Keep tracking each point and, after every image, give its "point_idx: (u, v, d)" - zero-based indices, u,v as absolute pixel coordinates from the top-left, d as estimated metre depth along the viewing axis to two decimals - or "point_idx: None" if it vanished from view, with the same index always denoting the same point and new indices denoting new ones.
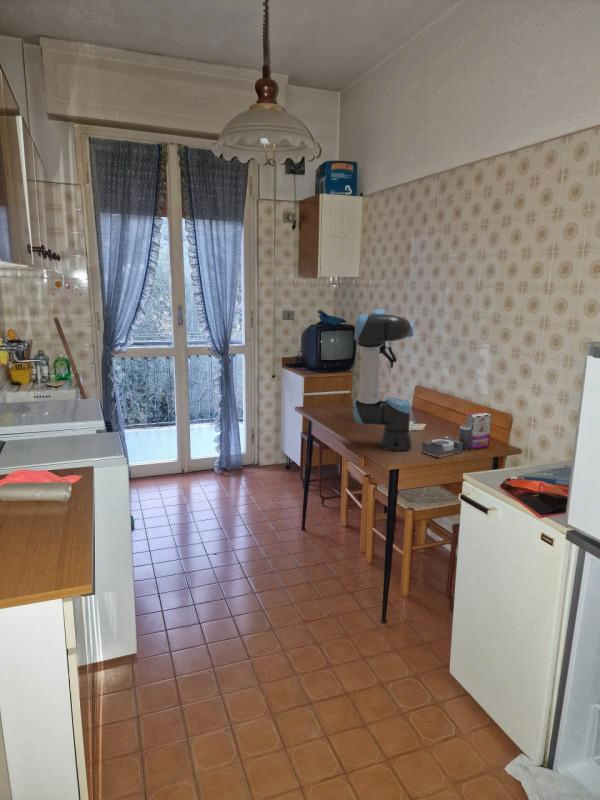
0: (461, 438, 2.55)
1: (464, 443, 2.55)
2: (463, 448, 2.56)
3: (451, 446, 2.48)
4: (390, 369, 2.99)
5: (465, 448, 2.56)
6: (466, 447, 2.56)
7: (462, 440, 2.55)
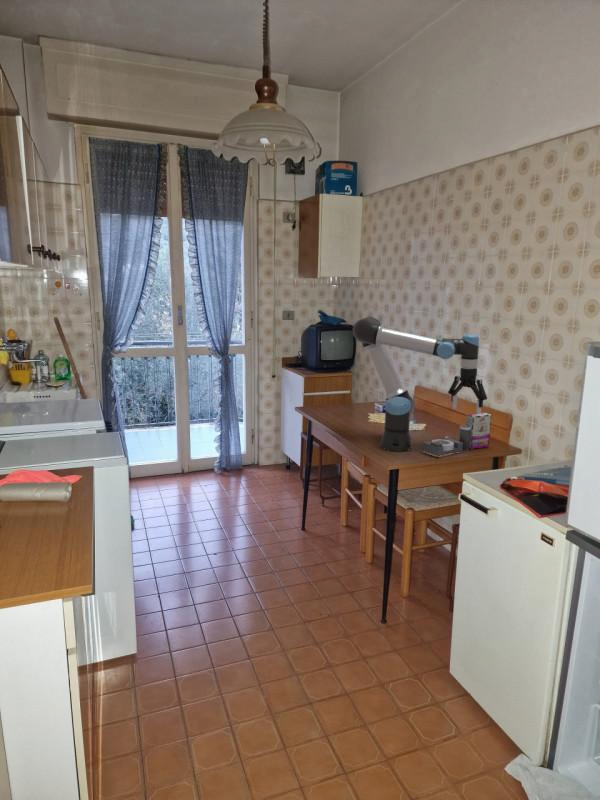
0: (461, 438, 2.55)
1: (464, 443, 2.55)
2: (463, 448, 2.56)
3: (451, 446, 2.48)
4: (477, 409, 2.52)
5: (465, 448, 2.56)
6: (466, 447, 2.56)
7: (462, 440, 2.55)
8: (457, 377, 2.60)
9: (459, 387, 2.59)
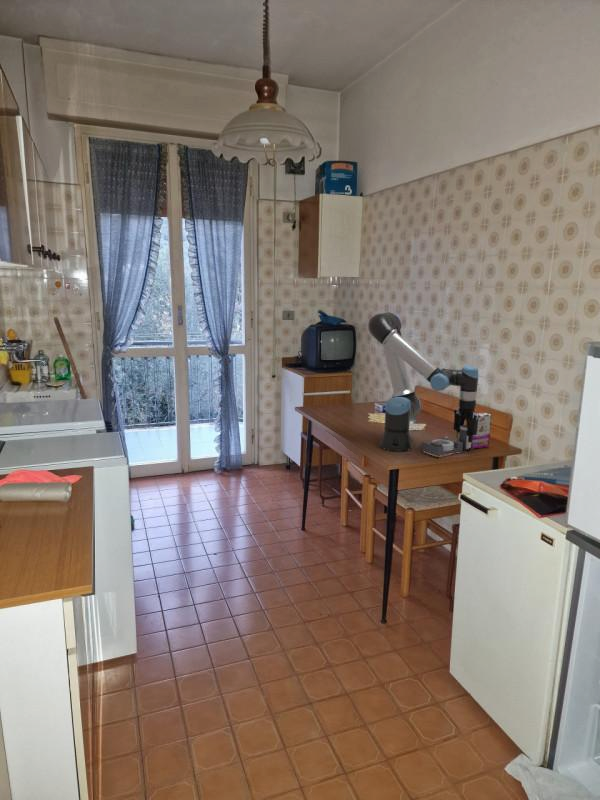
0: (461, 438, 2.55)
1: (464, 443, 2.55)
2: (463, 448, 2.56)
3: (451, 446, 2.48)
4: (466, 443, 2.54)
5: None
6: None
7: (462, 440, 2.55)
8: (456, 410, 2.58)
9: (461, 420, 2.56)
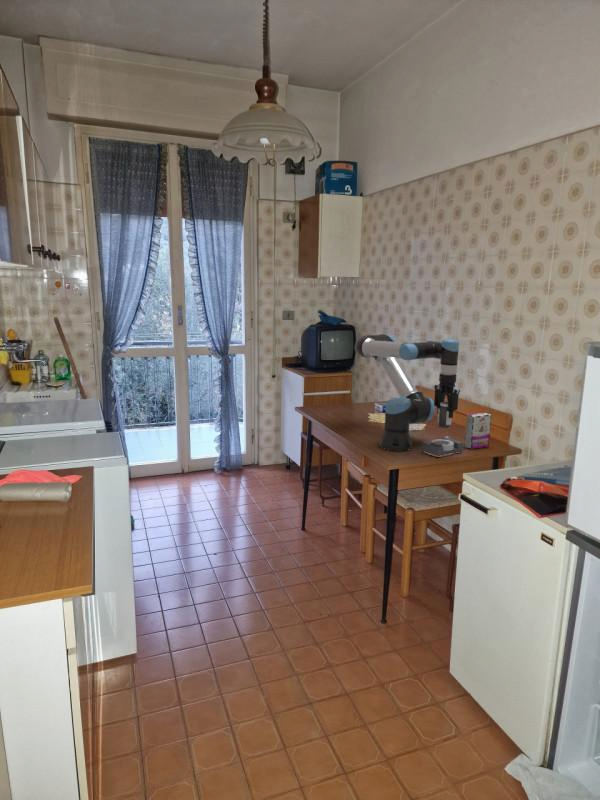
0: (442, 415, 2.47)
1: (444, 420, 2.47)
2: (443, 425, 2.47)
3: (451, 446, 2.48)
4: (447, 419, 2.46)
5: (445, 425, 2.47)
6: None
7: (442, 417, 2.47)
8: (437, 385, 2.50)
9: (441, 396, 2.47)
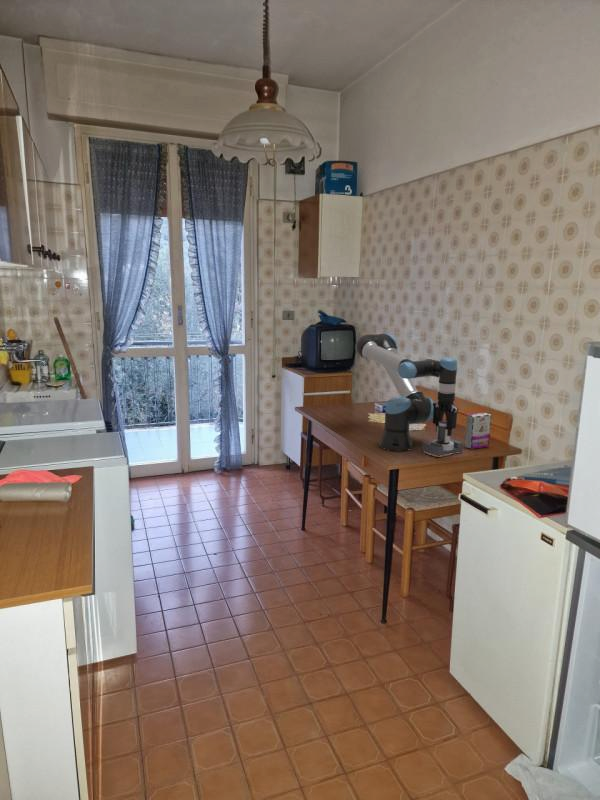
0: (440, 435, 2.49)
1: (443, 439, 2.49)
2: None
3: (451, 446, 2.48)
4: (445, 437, 2.48)
5: None
6: None
7: (441, 436, 2.49)
8: (435, 403, 2.52)
9: (440, 414, 2.49)
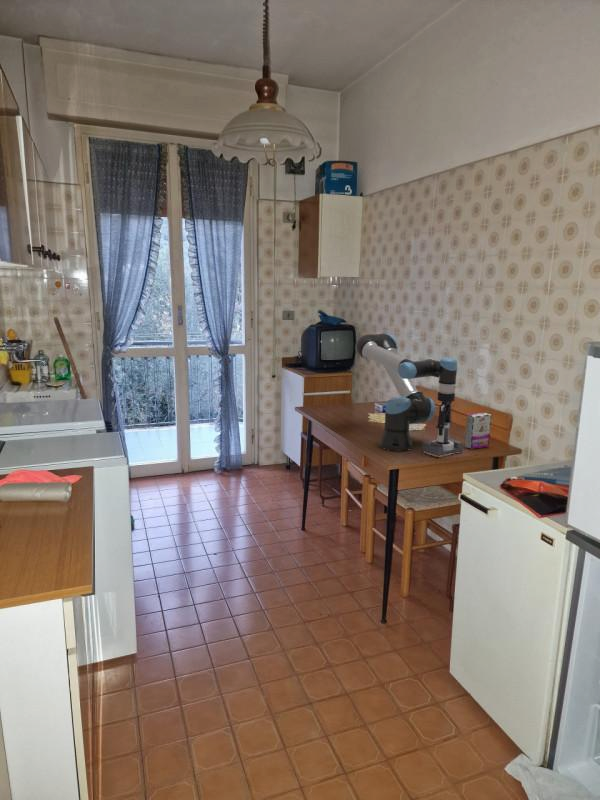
0: None
1: None
2: None
3: (451, 446, 2.48)
4: None
5: None
6: None
7: None
8: None
9: None
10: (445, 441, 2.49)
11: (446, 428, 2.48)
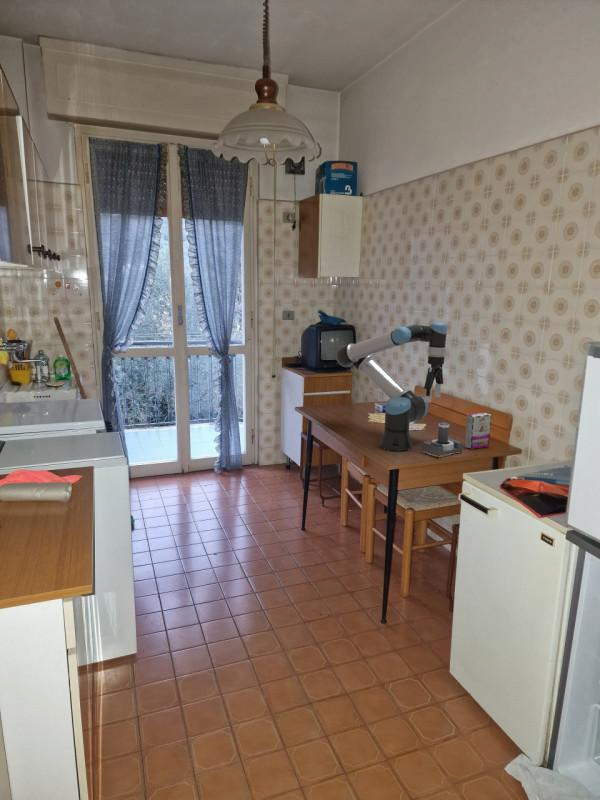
0: (438, 435, 2.51)
1: (438, 440, 2.51)
2: None
3: (451, 446, 2.48)
4: (425, 396, 2.52)
5: None
6: None
7: (438, 437, 2.51)
8: None
9: None
10: (445, 441, 2.49)
11: (446, 428, 2.48)
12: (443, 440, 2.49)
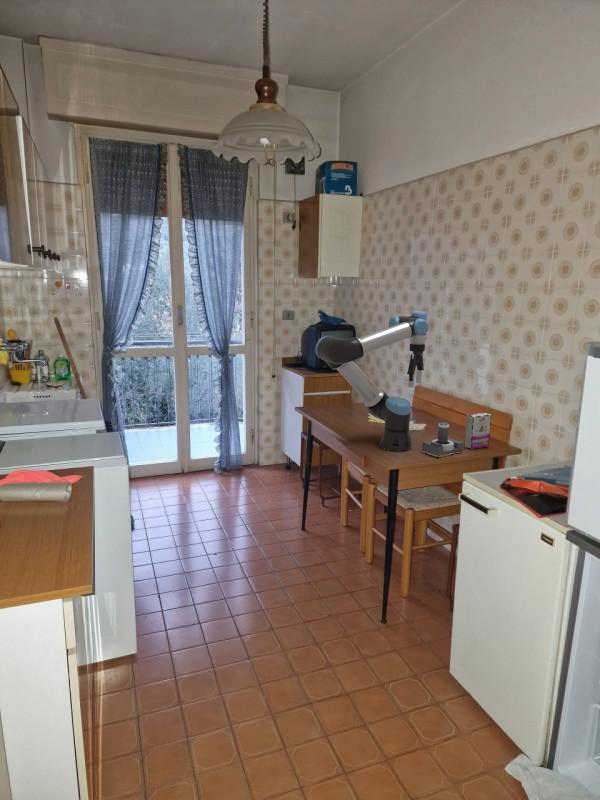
0: (438, 435, 2.51)
1: (438, 440, 2.51)
2: None
3: (451, 446, 2.48)
4: (408, 382, 2.67)
5: None
6: None
7: None
8: None
9: None
10: (445, 441, 2.49)
11: (446, 428, 2.48)
12: (443, 440, 2.49)
